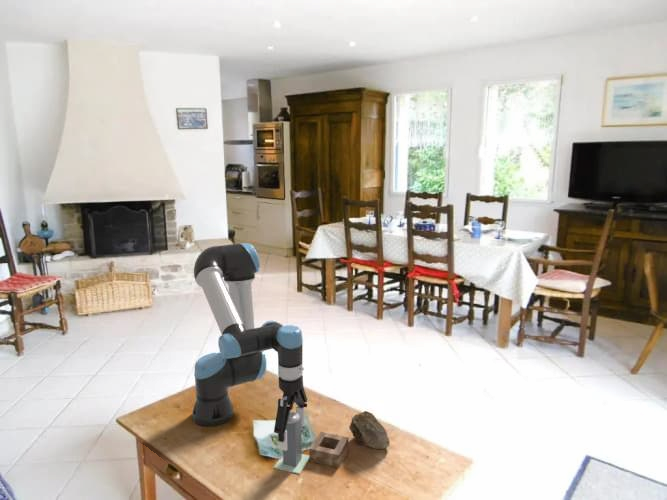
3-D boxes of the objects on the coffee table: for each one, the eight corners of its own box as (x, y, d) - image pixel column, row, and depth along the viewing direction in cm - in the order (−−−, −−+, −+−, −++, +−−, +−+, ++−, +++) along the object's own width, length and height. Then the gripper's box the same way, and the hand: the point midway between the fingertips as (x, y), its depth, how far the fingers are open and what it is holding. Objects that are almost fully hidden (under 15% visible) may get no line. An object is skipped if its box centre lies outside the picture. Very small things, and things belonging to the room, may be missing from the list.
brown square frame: (309, 461, 154) (309, 448, 153) (320, 443, 163) (320, 431, 162) (338, 467, 150) (338, 455, 150) (348, 449, 160) (348, 437, 159)
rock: (404, 426, 160) (370, 395, 162) (397, 441, 154) (362, 410, 156) (381, 445, 168) (349, 416, 170) (373, 460, 162) (340, 430, 164)
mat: (273, 468, 150) (273, 466, 150) (285, 451, 159) (285, 450, 159) (299, 474, 147) (299, 473, 147) (310, 457, 156) (310, 455, 156)
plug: (282, 464, 152) (281, 419, 148) (288, 455, 156) (287, 411, 153) (296, 467, 150) (295, 422, 147) (302, 458, 154) (301, 413, 151)
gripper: (284, 396, 134) (286, 463, 138) (316, 360, 157) (317, 418, 161) (260, 392, 137) (263, 457, 141) (295, 357, 160) (296, 414, 164)
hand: (292, 437), depth 151 cm, fingers open, 13 cm apart
